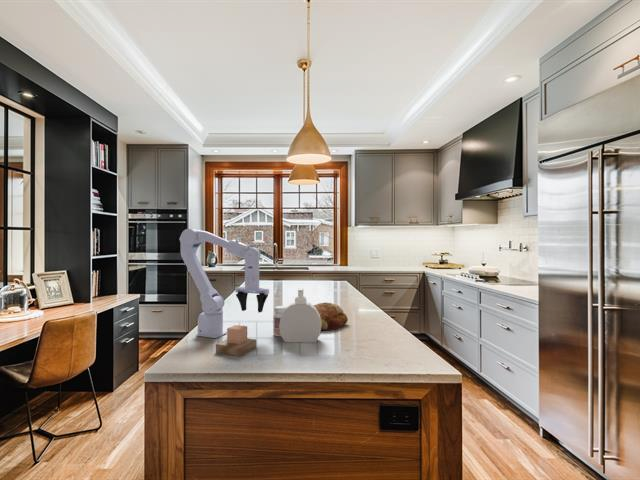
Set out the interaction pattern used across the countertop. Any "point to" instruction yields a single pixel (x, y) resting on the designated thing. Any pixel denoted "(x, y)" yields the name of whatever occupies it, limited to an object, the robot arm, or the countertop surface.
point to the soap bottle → (300, 321)
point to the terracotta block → (237, 334)
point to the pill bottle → (278, 319)
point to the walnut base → (235, 347)
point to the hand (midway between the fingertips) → (252, 311)
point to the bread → (331, 316)
